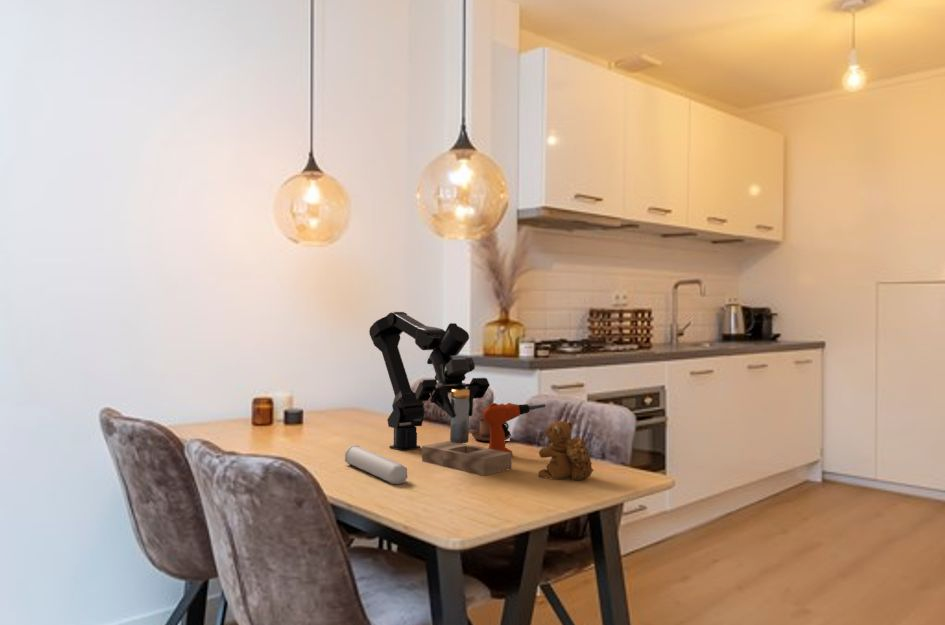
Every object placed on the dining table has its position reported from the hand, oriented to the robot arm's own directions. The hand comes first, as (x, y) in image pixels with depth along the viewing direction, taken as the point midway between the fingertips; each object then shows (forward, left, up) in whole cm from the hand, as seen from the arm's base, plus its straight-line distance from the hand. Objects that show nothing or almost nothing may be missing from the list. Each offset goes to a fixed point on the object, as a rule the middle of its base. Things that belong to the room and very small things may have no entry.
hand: (462, 416), depth 171 cm
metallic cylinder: (-1, 0, -7) cm, 7 cm away
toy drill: (-2, +22, -13) cm, 26 cm away
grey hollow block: (-3, +4, -13) cm, 14 cm away
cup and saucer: (-21, +35, -14) cm, 43 cm away
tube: (-11, -18, -14) cm, 25 cm away
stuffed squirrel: (+23, +12, -13) cm, 30 cm away
